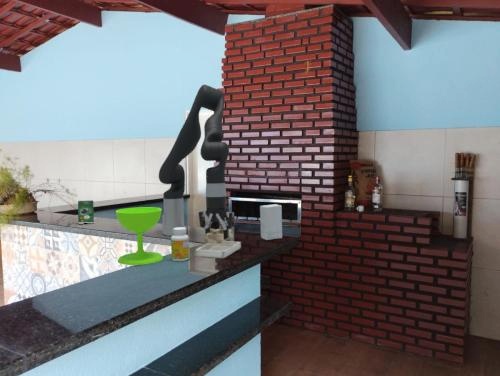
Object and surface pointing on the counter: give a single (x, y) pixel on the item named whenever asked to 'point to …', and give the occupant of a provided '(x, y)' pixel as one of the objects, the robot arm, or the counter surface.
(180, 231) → the supplement bottle
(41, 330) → the counter surface
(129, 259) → the wineglass
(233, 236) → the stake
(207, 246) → the tray
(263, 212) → the skincare box
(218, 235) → the tan irregular block
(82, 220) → the coffee box
